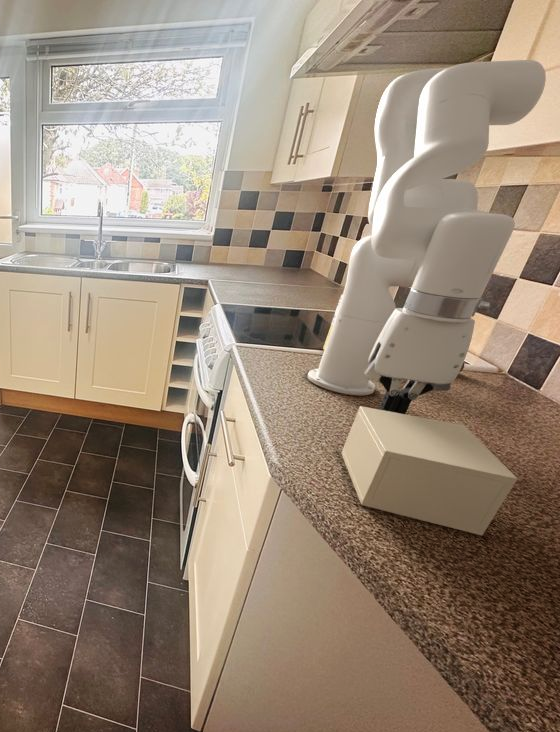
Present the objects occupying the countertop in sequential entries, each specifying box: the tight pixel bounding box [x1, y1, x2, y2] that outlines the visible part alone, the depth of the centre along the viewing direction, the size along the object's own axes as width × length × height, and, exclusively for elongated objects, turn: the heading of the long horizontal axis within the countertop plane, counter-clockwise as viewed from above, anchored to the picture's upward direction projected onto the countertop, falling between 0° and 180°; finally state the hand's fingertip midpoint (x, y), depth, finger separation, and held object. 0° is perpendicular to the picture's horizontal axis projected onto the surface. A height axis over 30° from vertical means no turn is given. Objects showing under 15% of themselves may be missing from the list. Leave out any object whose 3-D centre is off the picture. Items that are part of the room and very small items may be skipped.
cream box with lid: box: [340, 405, 518, 536], centre depth 57 cm, size 14×13×9 cm
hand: (389, 416), depth 68 cm, fingers closed
